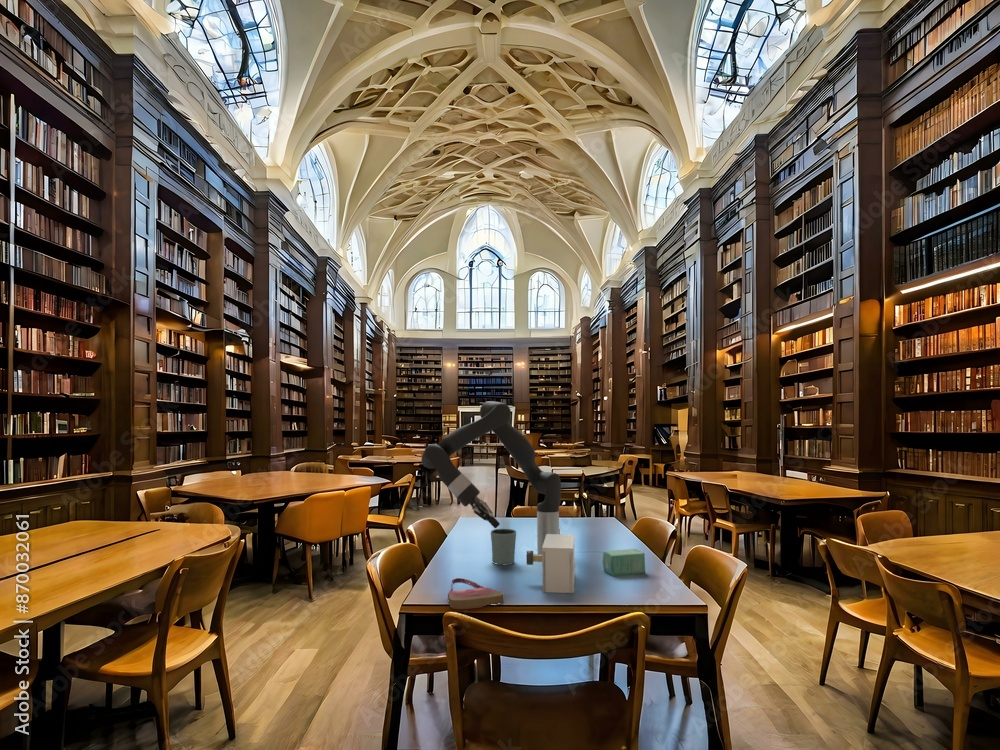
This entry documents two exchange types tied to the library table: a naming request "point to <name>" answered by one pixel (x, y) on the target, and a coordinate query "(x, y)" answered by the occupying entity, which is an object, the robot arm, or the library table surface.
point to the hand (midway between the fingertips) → (497, 526)
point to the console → (558, 563)
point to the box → (624, 562)
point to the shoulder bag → (473, 596)
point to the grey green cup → (503, 545)
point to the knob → (533, 557)
